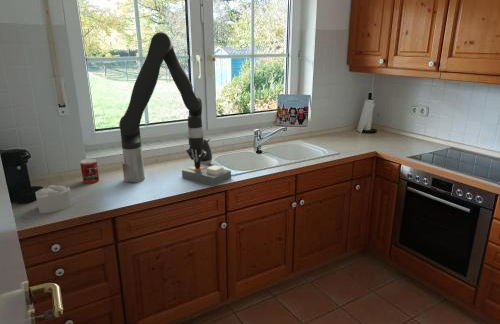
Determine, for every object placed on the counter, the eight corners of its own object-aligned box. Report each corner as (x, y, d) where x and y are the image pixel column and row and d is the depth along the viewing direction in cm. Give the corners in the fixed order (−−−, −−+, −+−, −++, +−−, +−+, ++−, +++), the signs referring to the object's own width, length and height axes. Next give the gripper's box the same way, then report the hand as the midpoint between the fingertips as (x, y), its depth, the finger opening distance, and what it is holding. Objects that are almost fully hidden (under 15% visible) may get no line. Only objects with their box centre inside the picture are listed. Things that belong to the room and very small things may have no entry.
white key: (216, 177, 182) (215, 170, 181) (206, 174, 185) (206, 168, 184) (223, 173, 186) (223, 167, 185) (214, 171, 190) (214, 165, 189)
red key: (198, 177, 189) (197, 170, 188) (189, 174, 192) (189, 168, 191) (205, 173, 194) (205, 167, 193) (197, 171, 197) (197, 165, 196)
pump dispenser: (216, 164, 212) (215, 138, 207) (202, 168, 204) (201, 142, 200) (205, 160, 218) (203, 135, 214) (191, 164, 211) (189, 139, 206)
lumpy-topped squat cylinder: (37, 206, 158) (34, 187, 156) (70, 199, 165) (67, 181, 163) (39, 214, 150) (35, 195, 147) (74, 207, 157) (71, 188, 154)
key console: (214, 185, 179) (214, 178, 178) (182, 177, 191) (181, 170, 190) (231, 178, 189) (230, 170, 188) (199, 170, 201) (198, 163, 200)
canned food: (83, 185, 182) (80, 163, 179) (82, 180, 189) (79, 159, 185) (100, 182, 185) (97, 161, 182) (98, 177, 192) (95, 157, 189)
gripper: (181, 135, 188) (183, 167, 193) (200, 138, 180) (202, 172, 186) (191, 132, 193) (193, 164, 199) (210, 135, 186) (212, 168, 191)
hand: (197, 167), depth 192 cm, fingers closed
